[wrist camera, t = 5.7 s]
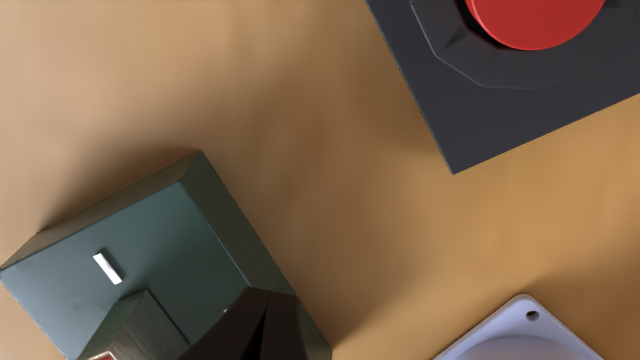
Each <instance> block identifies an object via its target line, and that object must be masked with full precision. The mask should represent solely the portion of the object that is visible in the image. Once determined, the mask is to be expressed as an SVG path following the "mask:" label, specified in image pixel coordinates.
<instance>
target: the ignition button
mask: <svg viewBox="0 0 640 360" xmlns="http://www.w3.org/2000/svg"><path fill="white" fill-rule="evenodd" d="M465 2H466V4H467V7H468V9H469V10H470V12H471V14H472V15H473V17H474V18H475V19H476V21H477V22H478V23H479V24H480V25H481V26H482V28H483V29H484V30H485V31H486V32H487V33H488V34H489V35H490V36H492V37H493V38H494V39H495V40H497V41H499V42H500V43H502V44H504V45H507V46H509V47H512V48H516V49H521V50H541V49H547V48H551V47H554V46H557V45H560V44H562V43H564V42H566V41H568V40H570V39H572V38H573V37H575V36H576V35H577V34H579V33H580V32H581V31H582V30H584V29H585V28H586V27H587V26H588V25H589V24H590V23H591V22H592V20H593V19H594V18H595V17H596V15H597V14H598V12H599V11H600V9H601V8H602V6H603V4H604V2H605V0H465Z"/></svg>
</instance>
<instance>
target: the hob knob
mask: <svg viewBox="0 0 640 360" xmlns="http://www.w3.org/2000/svg"><path fill="white" fill-rule="evenodd" d="M189 347H190V346H189V344H188V343H187V342H186V340H185V339H184V338H183V336H182V335H181V334H180V332H179V331H178V330H177V328H176V327H175V326H174V324H173V323H172V322H171V320H170V319H169V318H168V316H167V315H166V314H165V313H164V311H163V310H162V309H161V307H160V306H159V305H158V303H157V302H156V301H155V299H154V298H153V297H152V295H151V294H150V293H149V291H148V290H147V289H144V290H142V291H140V292H138V293H136V294H133V295H131V296H129V297H127V298H124V299H122V300H120V301H118V302H116V303H114V305H113V306H112V307H111V309H110V310H109V312H108V313H107V315H106V316H105V318H104V319H103V321H102V322H101V324H100V325H99V327H98V328H97V330H96V331H95V333H94V334H93V336H92V337H91V339H90V340H89V342H88V343H87V345H86V346H85V348H84V349H83V351H82V352H81V354H80V355H79V357H78V358H77V360H175V359H176V358H177V357H178V356H180V355H181V354H182V353H183V352H185V351H186V350H187V349H188V348H189Z"/></svg>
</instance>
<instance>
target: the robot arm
mask: <svg viewBox="0 0 640 360" xmlns="http://www.w3.org/2000/svg"><path fill="white" fill-rule="evenodd" d="M530 311H536V313H535V314H533V315H527V313H528V312H530ZM175 360H308V356H307V352H306V348H305V344H304V339H303V334H302V328H301V321H300V299H299V298H298V297H297V296H296V295H291V294H286V293H280V292H275V291H270V290H265V289H260V288H255V287H250V286H248V287H246V288H244V289H243V290H242V291H241V293H240V294H239V296H238V297H237V298H236V300H235V301H234V302H233V303H232V305H231V306H230V307H229V308H228V309H227V310H226V311H225V313H224V314H223V315H222V316H221V317H220V318H219V319H218V320H217V321H216V322H215V323H214V324H213V325H212V326H211V327H210V328H209V329H208V330H207V331H206V332H205V333H204V334H203V335H202V336H201V337H200V338H199V339H198V340H197V341H196V342H195V343H193V344H192V345H191V346H190V347H189V348H188V349H187V350H186V351H185V352H183V353H182V354H181V355H180V356H178V357H177V358H176V359H175ZM432 360H604V359H603V358H602V357H601V356H599V355H598V354H597V353H596V352H595V351H594V350H593V349H591V348H590V347H589V346H588V345H587V344H586V343H584V342H583V341H582V340H581V339H580V338H579V337H578V336H576V335H575V334H574V333H573V332H572V331H571V330H569V329H568V328H567V327H566V326H565V325H564V324H563V323H561V322H560V321H559V320H558V319H557V318H556V317H555V316H553V315H552V314H551V313H550V312H549V311H548V310H546V309H545V308H544V307H543V306H542V305H541V304H540V303H538V302H537V301H536V300H535V299H534V298H533V297H531V296H530V295H527V294H519V295H517V296H515V297H513V298H512V299H511V300H509V301H508V302H507V303H506V304H504V305H503V306H502V307H500V308H499V309H498V310H496V311H495V312H494V313H493V314H491V315H490V316H489V317H487V318H486V319H485V320H483V321H482V322H481V323H479V324H478V325H477V326H476V327H474V328H473V329H472V330H470V331H469V332H468V333H466V334H465V335H464V336H462V337H461V338H460V339H459V340H457V341H456V342H455V343H453V344H452V345H451V346H449V347H448V348H447V349H446V350H444V351H443V352H442V353H440V354H439V355H438V356H436V357H435V358H434V359H432Z"/></svg>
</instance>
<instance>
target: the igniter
mask: <svg viewBox="0 0 640 360" xmlns="http://www.w3.org/2000/svg"><path fill="white" fill-rule="evenodd" d="M365 2H366V4H367V6H368V8H369V10H370V12H371V14H372V16H373V18H374V20H375V22H376V24H377V26H378V28H379V30H380V32H381V34H382V36H383V38H384V40H385V42H386V44H387V46H388V48H389V50H390V52H391V54H392V56H393V58H394V60H395V62H396V64H397V66H398V68H399V70H400V72H401V74H402V76H403V78H404V80H405V82H406V84H407V86H408V88H409V90H410V92H411V94H412V96H413V98H414V100H415V102H416V104H417V106H418V108H419V110H420V112H421V114H422V116H423V118H424V120H425V122H426V124H427V126H428V128H429V130H430V132H431V134H432V136H433V138H434V140H435V142H436V144H437V146H438V148H439V150H440V152H441V154H442V156H443V158H444V160H445V162H446V164H447V166H448V168H449V170H450V172H451V174H453V175H454V174H456V173H459V172H461V171H463V170H465V169H468V168H470V167H472V166H475V165H477V164H479V163H481V162H484V161H486V160H488V159H490V158H493V157H495V156H497V155H500V154H502V153H504V152H506V151H509V150H511V149H513V148H515V147H518V146H520V145H522V144H525V143H527V142H529V141H531V140H534V139H536V138H538V137H541V136H543V135H545V134H547V133H550V132H552V131H554V130H556V129H559V128H561V127H563V126H566V125H568V124H570V123H572V122H575V121H577V120H579V119H581V118H584V117H586V116H588V115H591V114H593V113H595V112H597V111H600V110H602V109H604V108H606V107H609V106H611V105H613V104H616V103H618V102H620V101H622V100H625V99H627V98H629V97H632V96H634V95H636V94H638V93H640V0H605V2H604V4H603V6H602V8H601V9H600V11H599V12H598V14H597V15H596V17H595V18H594V19H593V20H592V22H591V23H590V24H589V25H588V26H587V27H586V28H585V29H584V30H582V31H581V32H580V33H579V34H577V35H576V36H575V37H573V38H572V39H570V40H568V41H566V42H564V43H562V44H560V45H557V46H554V47H551V48H547V49H541V50H521V49H516V48H512V47H509V46H507V45H504V44H502V43H500V42H499V41H497V40H495V39H494V38H493V37H492V36H490V35H489V34H488V33H487V32H486V31H485V30H484V29H483V28H482V26H481V25H480V24H479V23H478V22H477V21H476V19H475V18H474V17H473V15H472V14H471V12H470V10H469V9H468V7H467V4H466V2H465V0H365Z"/></svg>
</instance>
